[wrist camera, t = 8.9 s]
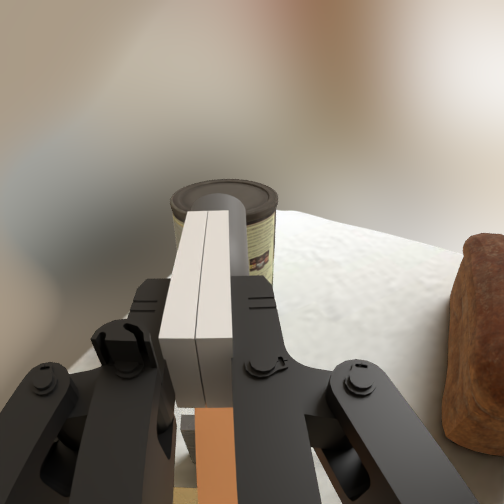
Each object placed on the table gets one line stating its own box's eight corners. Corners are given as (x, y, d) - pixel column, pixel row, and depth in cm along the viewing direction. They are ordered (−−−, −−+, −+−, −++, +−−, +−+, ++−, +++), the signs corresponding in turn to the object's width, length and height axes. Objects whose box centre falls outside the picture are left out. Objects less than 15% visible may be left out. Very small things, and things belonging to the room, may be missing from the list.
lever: (275, 581, 6) (248, 192, 16) (182, 581, 6) (185, 194, 16) (268, 558, 9) (246, 229, 19) (193, 559, 9) (191, 231, 19)
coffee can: (207, 276, 43) (201, 174, 36) (281, 293, 40) (289, 184, 33) (168, 325, 35) (148, 207, 28) (255, 350, 32) (258, 224, 25)
